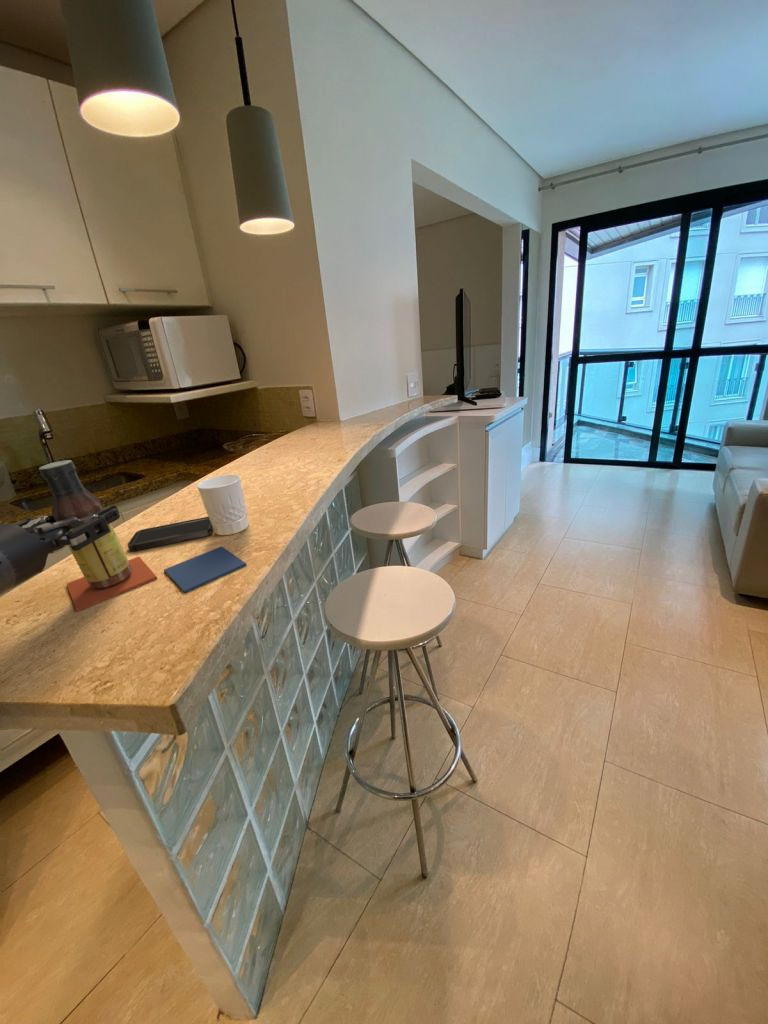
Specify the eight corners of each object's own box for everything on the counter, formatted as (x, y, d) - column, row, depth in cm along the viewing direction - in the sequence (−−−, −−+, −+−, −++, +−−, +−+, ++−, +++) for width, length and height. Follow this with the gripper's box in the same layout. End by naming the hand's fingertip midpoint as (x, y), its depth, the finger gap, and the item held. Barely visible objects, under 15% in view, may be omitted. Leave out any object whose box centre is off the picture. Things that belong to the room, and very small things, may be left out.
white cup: (219, 541, 76) (204, 491, 73) (206, 529, 82) (191, 483, 78) (258, 526, 81) (246, 479, 77) (243, 516, 87) (231, 472, 83)
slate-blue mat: (184, 593, 61) (183, 591, 61) (164, 571, 68) (163, 569, 68) (246, 565, 67) (246, 563, 67) (222, 547, 74) (221, 546, 74)
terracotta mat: (77, 611, 59) (76, 609, 59) (67, 585, 67) (66, 583, 67) (157, 578, 66) (156, 576, 66) (139, 558, 73) (139, 556, 73)
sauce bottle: (131, 565, 70) (85, 454, 62) (135, 579, 65) (87, 460, 58) (86, 581, 67) (32, 464, 59) (87, 597, 62) (29, 472, 54)
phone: (137, 530, 83) (214, 515, 86) (139, 535, 83) (215, 520, 86) (125, 547, 76) (210, 529, 79) (127, 552, 76) (211, 535, 79)
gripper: (17, 538, 46) (125, 487, 61) (-78, 540, 49) (47, 491, 64) (46, 593, 49) (142, 532, 64) (-46, 592, 52) (67, 533, 67)
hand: (94, 511), depth 64 cm, fingers open, 7 cm apart
